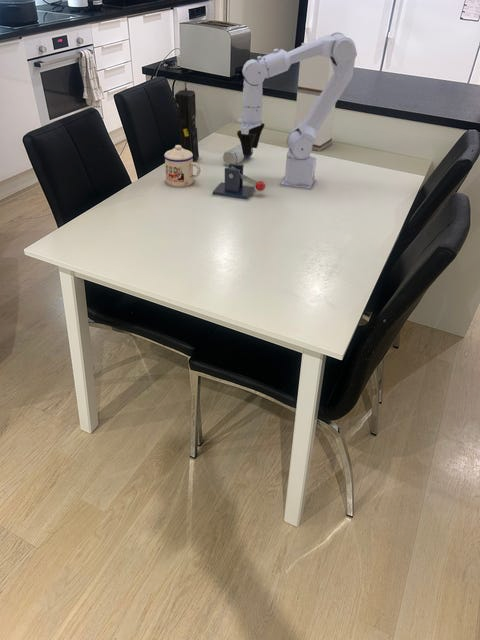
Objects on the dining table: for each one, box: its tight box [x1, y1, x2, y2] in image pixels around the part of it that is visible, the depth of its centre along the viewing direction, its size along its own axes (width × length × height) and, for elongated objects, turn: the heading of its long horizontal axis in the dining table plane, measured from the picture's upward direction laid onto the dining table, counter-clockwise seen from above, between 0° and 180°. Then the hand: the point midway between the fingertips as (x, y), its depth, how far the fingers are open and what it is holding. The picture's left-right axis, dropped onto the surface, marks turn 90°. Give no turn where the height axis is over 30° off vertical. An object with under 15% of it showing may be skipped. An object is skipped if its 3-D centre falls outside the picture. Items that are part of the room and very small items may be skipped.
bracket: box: [212, 163, 255, 200], centre depth 156 cm, size 11×8×8 cm
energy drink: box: [222, 143, 254, 167], centre depth 178 cm, size 5×5×12 cm
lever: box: [231, 166, 266, 192], centre depth 154 cm, size 12×3×3 cm, turn 74°
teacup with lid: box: [163, 144, 201, 187], centre depth 160 cm, size 12×9×12 cm
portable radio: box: [174, 82, 200, 163], centre depth 172 cm, size 8×6×25 cm
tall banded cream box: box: [293, 38, 336, 152], centre depth 186 cm, size 11×11×35 cm
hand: (250, 151), depth 158 cm, fingers open, 7 cm apart
